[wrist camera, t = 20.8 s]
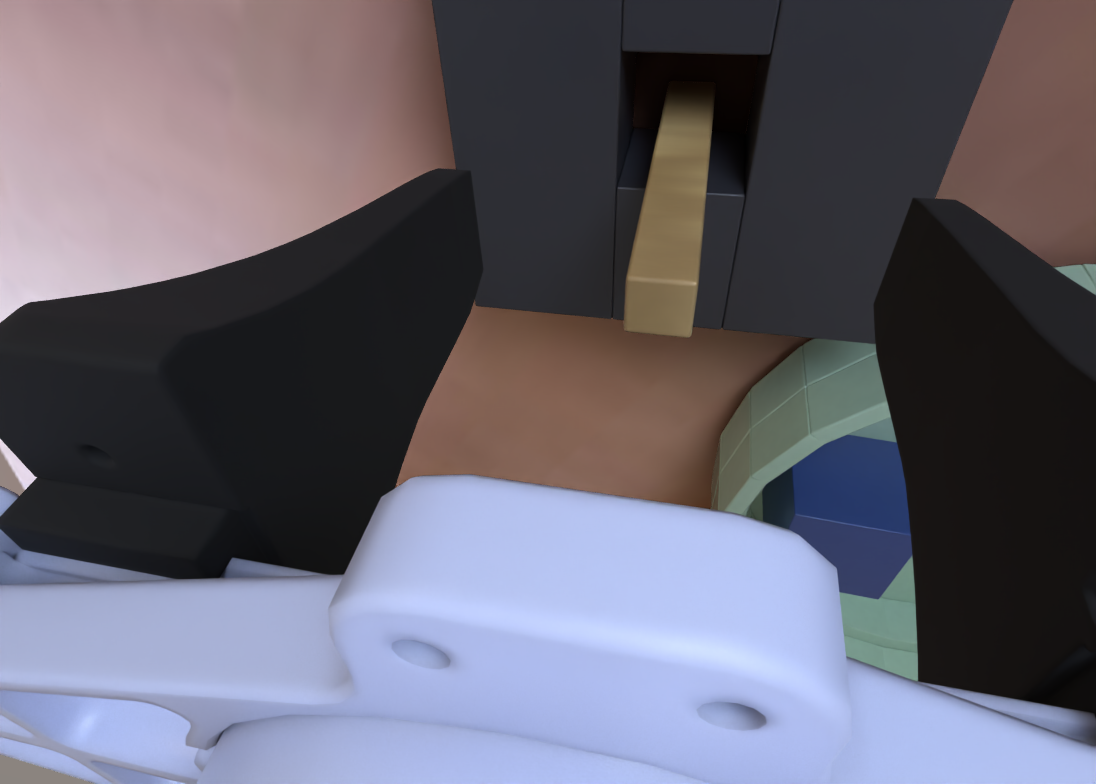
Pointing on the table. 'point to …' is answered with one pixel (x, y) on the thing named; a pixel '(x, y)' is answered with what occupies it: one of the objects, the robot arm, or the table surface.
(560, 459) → the table surface
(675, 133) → the stick
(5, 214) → the table surface
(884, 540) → the block
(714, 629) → the robot arm
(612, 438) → the table surface
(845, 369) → the bowl
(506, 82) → the stand
